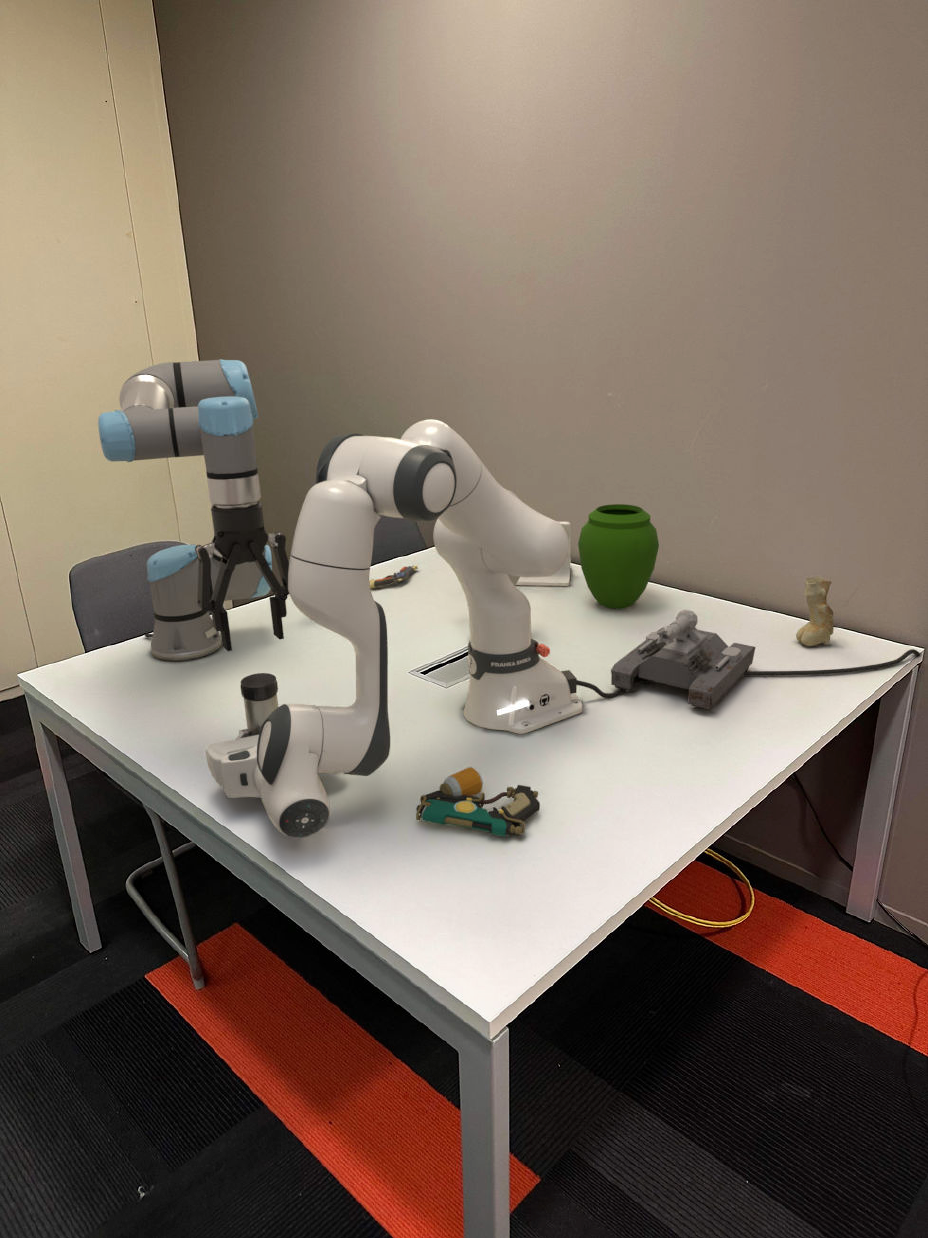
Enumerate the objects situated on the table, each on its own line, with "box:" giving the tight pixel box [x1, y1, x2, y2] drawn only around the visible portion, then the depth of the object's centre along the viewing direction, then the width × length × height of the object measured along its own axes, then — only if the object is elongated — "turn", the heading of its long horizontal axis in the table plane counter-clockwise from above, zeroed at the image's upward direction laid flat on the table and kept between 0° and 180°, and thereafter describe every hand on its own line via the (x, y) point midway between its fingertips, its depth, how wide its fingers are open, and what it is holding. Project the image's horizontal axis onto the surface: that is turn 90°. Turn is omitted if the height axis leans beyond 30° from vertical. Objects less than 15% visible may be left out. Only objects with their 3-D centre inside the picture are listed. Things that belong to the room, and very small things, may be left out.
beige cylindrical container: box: [242, 692, 279, 736], centre depth 142 cm, size 5×5×16 cm
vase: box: [577, 503, 660, 610], centre depth 210 cm, size 20×20×24 cm
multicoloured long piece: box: [369, 565, 419, 589], centre depth 238 cm, size 3×19×10 cm
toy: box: [610, 609, 756, 711], centre depth 169 cm, size 25×20×15 cm
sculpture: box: [795, 576, 835, 647], centre depth 185 cm, size 6×7×15 cm
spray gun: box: [415, 766, 541, 838], centre depth 128 cm, size 4×17×15 cm
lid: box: [240, 672, 279, 700], centre depth 140 cm, size 6×6×2 cm
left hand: (253, 642), depth 137 cm, fingers open, 8 cm apart
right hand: (263, 729), depth 143 cm, fingers closed on beige cylindrical container, 5 cm apart
